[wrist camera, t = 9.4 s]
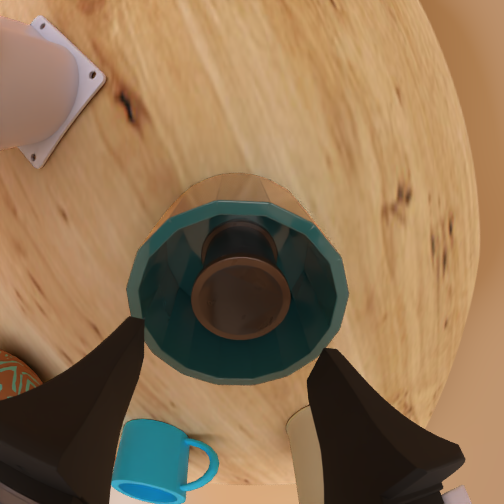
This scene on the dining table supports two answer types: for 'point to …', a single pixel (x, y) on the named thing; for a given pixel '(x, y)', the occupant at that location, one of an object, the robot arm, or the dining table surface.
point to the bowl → (189, 265)
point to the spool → (240, 282)
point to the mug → (157, 462)
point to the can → (306, 457)
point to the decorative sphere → (15, 376)
